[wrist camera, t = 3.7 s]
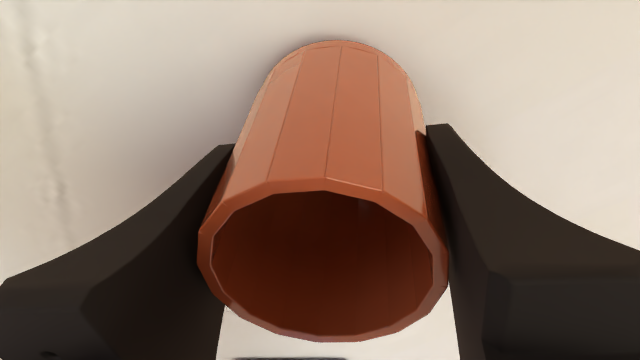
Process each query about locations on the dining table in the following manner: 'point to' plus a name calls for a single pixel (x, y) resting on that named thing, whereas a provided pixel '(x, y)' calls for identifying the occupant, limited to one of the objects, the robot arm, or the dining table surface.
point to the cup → (329, 202)
